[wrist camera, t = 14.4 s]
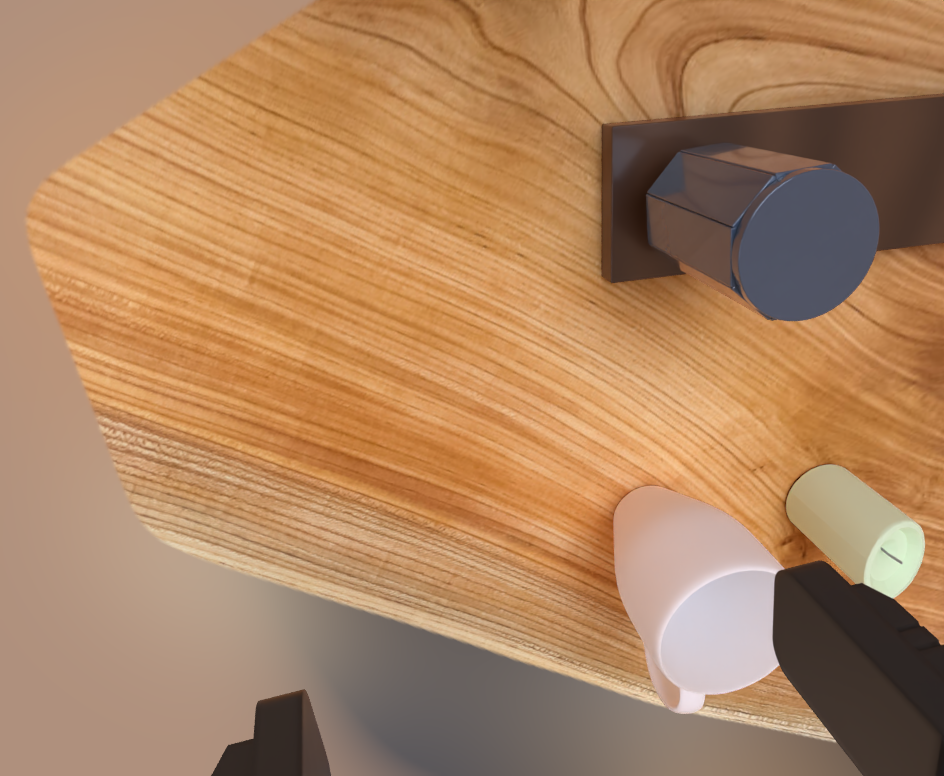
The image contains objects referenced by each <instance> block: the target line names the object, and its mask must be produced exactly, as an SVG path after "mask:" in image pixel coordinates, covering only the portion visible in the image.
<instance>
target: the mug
mask: <svg viewBox="0 0 944 776" xmlns="http://www.w3.org/2000/svg"><path fill="white" fill-rule="evenodd" d="M613 528H614V561H615V574H616V581H617V586H618V590H619V594H620V597H621V600H622V602H623V605H624V607H625V610H626V612H627V614H628V616H629V618H630V620H631V622H632V623H633V625H634V627H635V629H636V630H637V632H638V634H639V636H640V638H641V639H642V641H643V643H644V649H645V656H646V661H647V666H648V670H649V674H650V677H651V680H652V683H653V685H654V688H655V690H656V692H657V694H658V696H659V697H660V699H661V701H662V702H663V703H664V705H665V706H666V707H667V708H668V709H670V710H671V711H673V712H676V713H682V714H688V713H694V712H696V711H698V710H700V709H701V708H702V706H703V704H704V700H705V694H707V695H712V694H723V693H728V692H732V691H736V690H739V689H742V688H744V687H747V686H749V685H751V684H753V683H755V682H757V681H759V680H760V679H762V678H763V677H765V676H766V675H768V674H769V673H770V672H772V671H773V670H774V669H775V668H776V667H778V666H779V663H778V660H777V658H776V655H775V651H774V647H773V640H772V634H773V605H774V580H775V575H776V573H777V572H778V571H780V570H784V567H783V566H782V565H781V564H780V563H779V562H778V561H777V560H776V559H775V558H774V557H773V556H772V555H771V553H770V552H769V551H768V550H767V549H766V548H765V547H764V546H763V545H762V544H761V543H760V542H759V541H758V540H757V539H756V537H755V536H754V535H753V534H752V533H751V532H750V531H749V530H747V529H746V528H745V527H744V526H743V525H742V524H741V523H739V522H738V521H737V520H736V519H734V518H733V517H731V516H730V515H728V514H727V513H725V512H723V511H722V510H720V509H718V508H716V507H714V506H711V505H709V504H707V503H704V502H702V501H699V500H696V499H694V498H691V497H688V496H685V495H683V494H680V493H677V492H674V491H672V490H669V489H666V488H663V487H660V486H643V487H640V488H637V489H635V490H633V491H631V492H630V493H628V494H627V495H626V496H625V497H624V498H623V499H622V500H621V501H620V503H619V504H618V506H617V508H616V510H615V513H614V518H613Z"/></svg>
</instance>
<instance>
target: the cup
mask: <svg viewBox="0 0 944 776" xmlns="http://www.w3.org/2000/svg"><path fill="white" fill-rule="evenodd" d="M647 193H648V194H646V208H647V233H648V243H649V245H650V246H651V247H653V248H654V249H655V250H656V251H658V252H659V253H660V254H661V255H662V256H664V257H665V258H666V259H667V260H669V261H670V262H671V263H672V264H674V265H675V266H676V267H677V268H678V269H680V270H681V271H683V272H685V273H686V274H688V275H690V276H692V277H693V278H695V279H697V280H699V281H700V282H702V283H704V284H706V285H707V286H709V287H711V288H713V289H714V290H716V291H718V292H720V293H722V294H723V295H725V296H727V297H729V298H730V299H732V300H734V301H736V302H737V303H739V304H741V305H743V306H744V307H746V308H748V309H750V310H751V311H753V312H755V313H757V314H758V315H760V316H762V317H764V318H765V319H767V320H771V321H773V320H777V319H778V320H783V321H802V320H808V319H811V318H815V317H817V316H820V315H822V314H825V313H827V312H828V311H830V310H832V309H834V308H835V307H836V306H838V305H839V304H841V303H842V302H843V301H844V300H845V299H847V298H848V297H849V296H850V295H851V294H852V293H853V292H854V291H855V289H856V288H857V287H858V286H859V284H860V283H861V282H862V280H863V279H864V277H865V276H866V274H867V272H868V270H869V268H870V266H871V264H872V262H873V259H874V256H875V254H876V250H877V246H878V240H879V216H878V212H877V207H876V205H875V202H874V200H873V198H872V196H871V194H870V193H869V191H868V190H867V189H866V187H865V186H864V185H863V184H862V183H861V182H860V181H858V180H857V179H856V178H854V177H853V176H851V175H849V174H847V173H844V172H842V171H841V170H840V169H839V168H838V167H837V166H836V165H835V164H832V163H828V162H823V161H818V160H813V159H808V158H803V157H798V156H793V155H787V154H782V153H777V152H772V151H767V150H762V149H757V148H752V147H747V146H742V145H737V144H732V143H727V142H725V143H719V144H713V145H707V146H701V147H695V148H690V149H684V150H681V151H680V152H678V153H677V154H676V155H675V157H674V158H673V159H672V160H671V162H670V163H669V164H668V166H667V167H666V168H665V170H664V171H663V172H662V173H661V175H660V176H659V177H658V179H657V180H656V181H655V183H654V184H653V185H652V186H651V188H650V189H649V190H648V192H647Z"/></svg>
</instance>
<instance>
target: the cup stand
mask: <svg viewBox="0 0 944 776" xmlns="http://www.w3.org/2000/svg"><path fill="white" fill-rule="evenodd" d="M725 142H727V143H732V144H737V145H742V146H747V147H752V148H757V149H762V150H767V151H772V152H777V153H782V154H787V155H793V156H798V157H803V158H808V159H813V160H818V161H823V162H828V163H832V164H835V165H836V166H837V167H838V168H839V169H840V170H841V171H842V172H844V173H847V174H849V175H851V176H853V177H854V178H856V179H857V180H858V181H860V182H861V183H862V184H863V185H864V186H865V187H866V189H867V190H868V191H869V193H870V194H871V196H872V198H873V200H874V202H875V205H876V207H877V212H878V216H879V240H878V246H877V250H876V251H880V250H888V249H896V248H905V247H913V246H921V245H929V244H937V243H944V94H933V95H922V96H911V97H900V98H889V99H877V100H866V101H855V102H844V103H833V104H821V105H810V106H799V107H788V108H777V109H766V110H754V111H743V112H732V113H721V114H710V115H698V116H687V117H676V118H665V119H654V120H642V121H631V122H620V123H609V124H603V125H602V276H603V277H604V278H605V279H607V280H608V281H609V282H611V283H616V282H624V281H633V280H641V279H649V278H657V277H666V276H674V275H682V274H686V273H685V272H683V271H681V270H680V269H678V268H677V267H676V266H675V265H674V264H672V263H671V262H670V261H669V260H667V259H666V258H665V257H664V256H662V255H661V254H660V253H659V252H658V251H656V250H655V249H654V248H653V247H651V246H650V245H649V243H648V233H647V208H646V194H648V193H647V192H648V190H649V189H650V188H651V186H652V185H653V184H654V183H655V181H656V180H657V179H658V177H659V176H660V175H661V173H662V172H663V171H664V170H665V168H666V167H667V166H668V164H669V163H670V162H671V160H672V159H673V158H674V157H675V155H676V154H677V153H678V152H680V151H681V150H684V149H690V148H695V147H701V146H707V145H713V144H719V143H725Z"/></svg>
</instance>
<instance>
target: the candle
mask: <svg viewBox="0 0 944 776" xmlns="http://www.w3.org/2000/svg"><path fill="white" fill-rule="evenodd" d="M786 512H787V516H788V517H789V519H790V521H791V522H792V523H793V524H794V525H795V526H796V527H797V528H798V529H799V530H800V531H801V532H802V533H803V534H804V535H806V536H807V537H808V538H809V539H810V540H811V541H812V542H813V543H814V544H815V545H816V546H817V547H818V548H819V549H820V550H821V551H822V552H823V553H824V554H825V555H826V556H827V557H828V558H829V559H831V560H832V561H833V562H834V563H835V564H836V565H837V566H838V567H839V568H840V569H841V570H842V571H843V572H844V573H845V574H846V575H847V576H848V577H849V578H850V579H851V580H852V581H853V582H855V583H856V584H859V583H863V584H865V585H867V586H869V587H871V588H873V589H875V590H877V591H879V592H881V593H883V594H885V595H887V596H889V597H891V598H894V597H896V596H898V595H899V594H900V593H901V592H903V591H904V590H905V589H906V588H907V586H908V585H909V584H910V583H911V582H912V580H913V579H914V577H915V575H916V574H917V572H918V570H919V567H920V565H921V563H922V559H923V555H924V549H925V539H924V533H923V531H922V529H921V526H919V525H918V524H917V523H916V522H915V521H914V520H912V519H911V518H910V517H908V516H907V515H906V514H905V513H903V512H902V511H901V510H899V509H898V508H897V507H895V506H894V505H893V504H891V503H890V502H889V501H887V500H886V499H885V498H884V497H882V496H881V495H880V494H878V493H877V492H876V491H874V490H873V489H872V488H870V487H869V486H868V485H866V484H865V483H864V482H862V481H861V480H860V479H859V478H857V477H856V476H855V475H853V474H852V473H851V472H849V471H848V470H847V469H845V468H844V467H841V466H839V465H832V464H827V465H822V466H818V467H816V468H813V469H811V470H809V471H808V472H806V473H805V474H804V475H802V476H801V477H800V478H799V479H798V480H797V481H796V482H795V484H794V485H793V487H792V488H791V490H790V492H789V494H788V497H787V501H786Z"/></svg>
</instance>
